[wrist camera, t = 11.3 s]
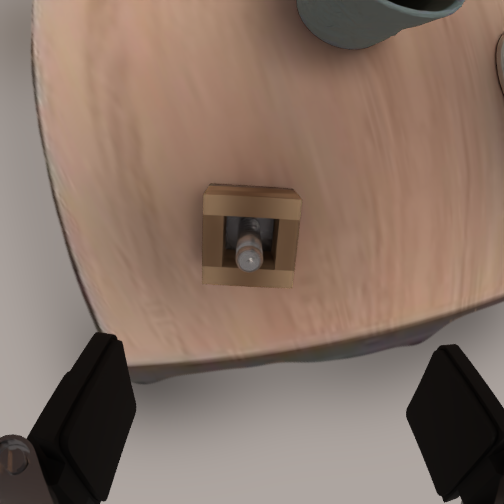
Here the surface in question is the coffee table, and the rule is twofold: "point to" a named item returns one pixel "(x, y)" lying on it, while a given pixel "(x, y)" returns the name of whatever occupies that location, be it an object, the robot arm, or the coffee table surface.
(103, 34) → the coffee table surface
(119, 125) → the coffee table surface
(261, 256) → the peg stand
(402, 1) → the teal cup
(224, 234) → the square wooden ring
